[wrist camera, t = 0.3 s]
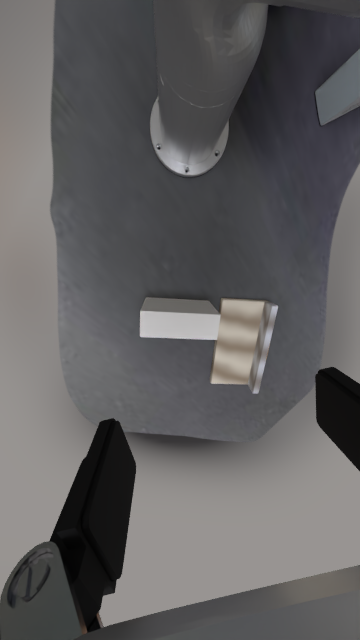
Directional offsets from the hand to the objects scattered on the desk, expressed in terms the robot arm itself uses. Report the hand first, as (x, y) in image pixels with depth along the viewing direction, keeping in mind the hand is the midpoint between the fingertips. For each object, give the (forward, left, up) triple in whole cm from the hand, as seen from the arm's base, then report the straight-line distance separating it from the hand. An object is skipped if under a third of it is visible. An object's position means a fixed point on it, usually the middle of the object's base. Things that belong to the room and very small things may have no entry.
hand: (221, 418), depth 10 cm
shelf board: (+11, +14, -34) cm, 39 cm away
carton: (+4, 0, -34) cm, 34 cm away
